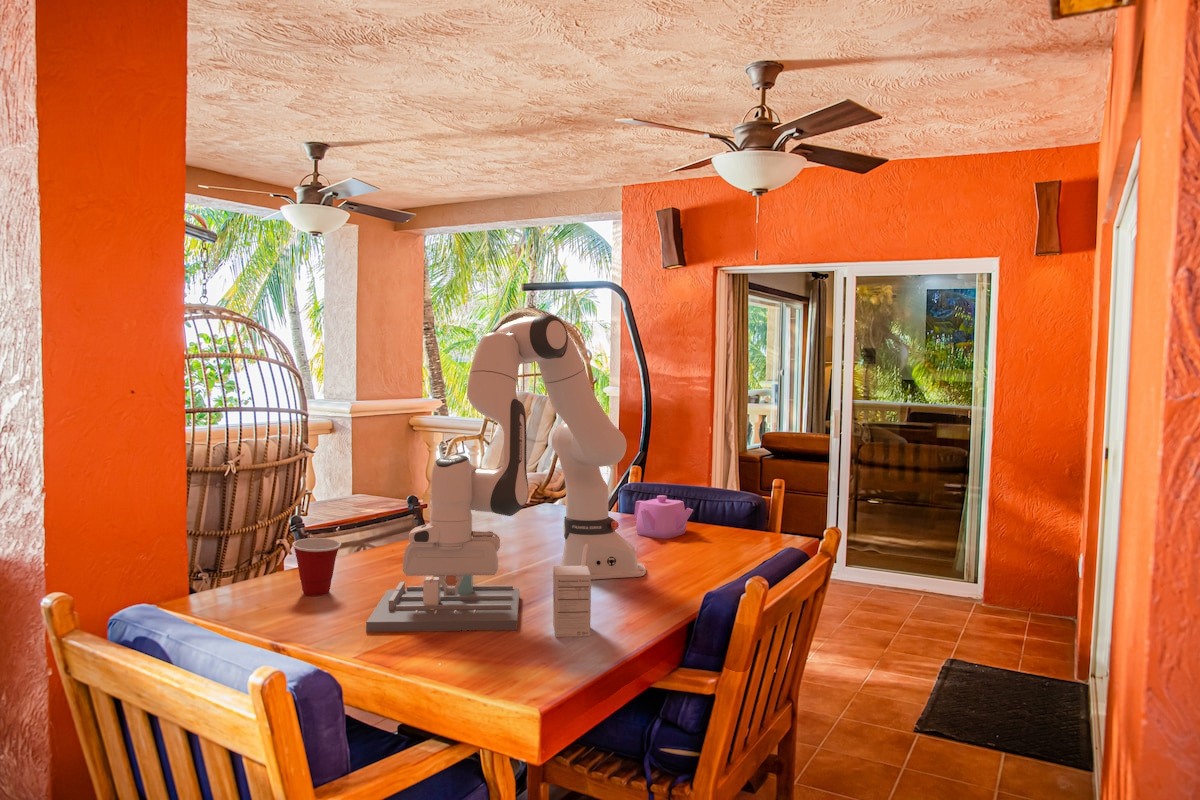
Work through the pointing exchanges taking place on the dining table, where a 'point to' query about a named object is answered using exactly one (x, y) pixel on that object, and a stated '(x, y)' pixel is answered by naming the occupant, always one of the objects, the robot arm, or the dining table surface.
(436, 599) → the fader
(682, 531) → the teakettle
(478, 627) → the console
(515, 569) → the dining table surface
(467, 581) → the fader
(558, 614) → the supplement box
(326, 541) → the plastic cup
